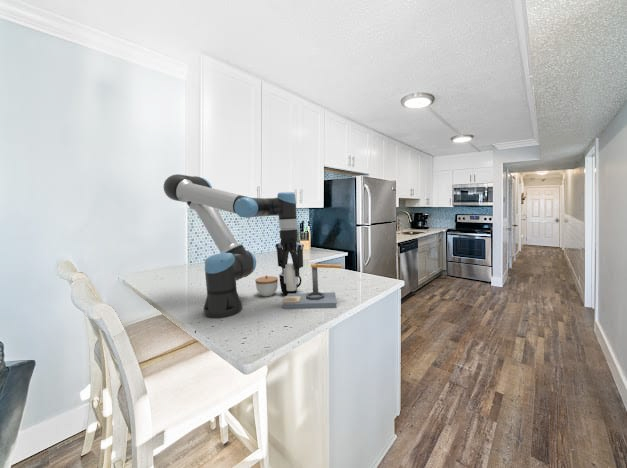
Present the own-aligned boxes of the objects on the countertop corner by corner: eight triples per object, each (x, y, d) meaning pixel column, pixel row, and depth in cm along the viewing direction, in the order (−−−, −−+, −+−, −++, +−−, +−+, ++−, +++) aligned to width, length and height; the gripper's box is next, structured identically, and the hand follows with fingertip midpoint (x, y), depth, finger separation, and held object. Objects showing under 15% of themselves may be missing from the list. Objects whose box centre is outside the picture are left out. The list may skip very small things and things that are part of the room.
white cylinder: (285, 291, 116) (284, 265, 115) (287, 288, 120) (285, 263, 119) (296, 290, 116) (294, 265, 115) (297, 287, 120) (295, 263, 119)
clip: (310, 267, 124) (309, 264, 124) (312, 266, 127) (312, 263, 127) (340, 268, 119) (340, 266, 119) (342, 267, 122) (342, 264, 122)
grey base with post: (282, 308, 114) (280, 275, 113) (287, 297, 128) (285, 267, 127) (336, 307, 113) (335, 273, 112) (335, 296, 127) (334, 266, 126)
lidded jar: (254, 293, 138) (253, 274, 137) (275, 290, 141) (274, 272, 140) (258, 299, 128) (257, 279, 127) (280, 295, 131) (279, 276, 130)
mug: (287, 298, 128) (286, 276, 127) (276, 294, 134) (275, 273, 133) (307, 292, 135) (306, 272, 135) (296, 288, 142) (295, 269, 141)
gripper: (310, 228, 114) (313, 283, 116) (278, 228, 124) (281, 279, 126) (300, 230, 108) (302, 288, 110) (266, 229, 117) (270, 283, 119)
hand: (291, 283), depth 118 cm, fingers closed on white cylinder, 4 cm apart
